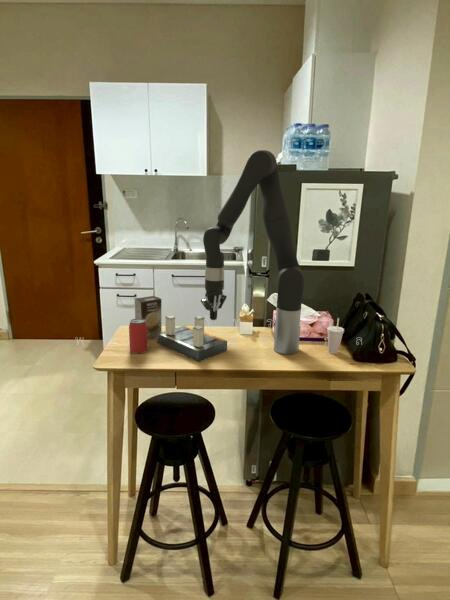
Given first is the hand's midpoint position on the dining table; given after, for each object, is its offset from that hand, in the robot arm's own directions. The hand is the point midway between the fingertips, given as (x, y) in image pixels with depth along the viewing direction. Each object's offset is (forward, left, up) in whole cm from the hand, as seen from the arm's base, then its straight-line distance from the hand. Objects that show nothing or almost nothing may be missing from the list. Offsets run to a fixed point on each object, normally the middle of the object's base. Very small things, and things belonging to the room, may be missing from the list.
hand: (213, 319), depth 165 cm
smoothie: (-25, +41, -9) cm, 49 cm away
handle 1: (+16, -8, -4) cm, 18 cm away
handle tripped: (+8, 0, -4) cm, 9 cm away
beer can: (+29, -11, -9) cm, 32 cm away
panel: (+12, 0, -9) cm, 15 cm away
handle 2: (+16, +8, -4) cm, 18 cm away
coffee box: (+17, -21, -9) cm, 28 cm away
